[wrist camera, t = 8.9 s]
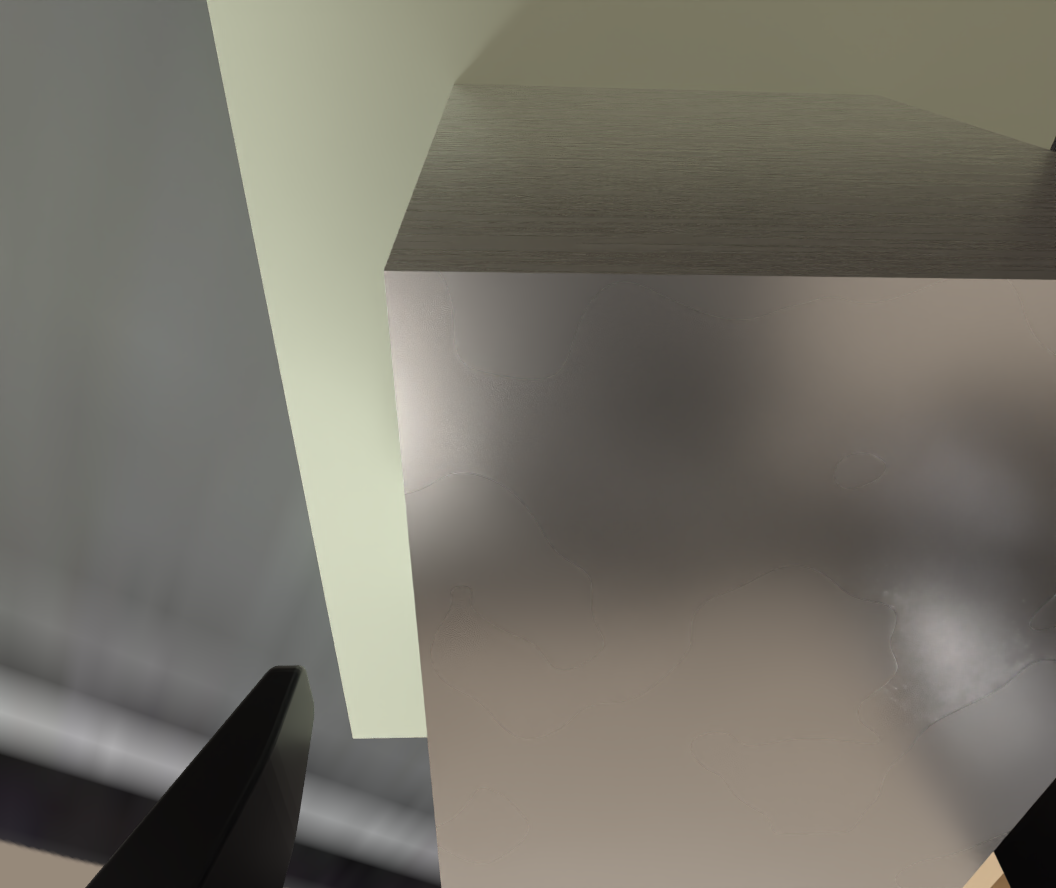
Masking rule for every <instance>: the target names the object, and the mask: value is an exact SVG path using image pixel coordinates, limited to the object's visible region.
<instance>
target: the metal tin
mask: <svg viewBox="0 0 1056 888" xmlns="http://www.w3.org/2000/svg"><path fill="white" fill-rule="evenodd" d="M384 281H385V292H386V302H387V313H388V324H389V334H390V345H391V355H392V366H393V377H394V387H395V398H396V409H397V419H398V430H399V440H400V451H401V462H402V472H403V483H404V494H405V504H406V515H407V526H408V536H409V547H410V558H411V568H412V579H413V589H414V600H415V611H416V621H417V632H418V643H419V653H420V664H421V675H422V685H423V696H424V706H425V717H426V728H427V738H428V749H429V760H430V770H431V781H432V792H433V802H434V813H435V823H436V834H437V845H438V855H439V866H440V877H441V887H442V888H963V887H964V885H965V884H966V883H967V882H968V881H969V880H970V878H971V877H972V876H973V875H974V874H975V873H976V871H977V870H978V869H979V868H980V867H981V865H982V864H983V863H984V862H985V861H986V860H987V858H988V857H989V856H990V855H991V854H992V852H993V851H994V850H995V849H996V848H997V847H998V845H999V844H1000V843H1001V842H1002V841H1003V840H1004V838H1005V837H1006V836H1007V835H1008V834H1009V832H1010V831H1011V830H1012V829H1013V828H1014V827H1015V825H1016V824H1017V823H1018V822H1019V821H1020V819H1021V818H1022V817H1023V816H1024V815H1025V814H1026V812H1027V811H1028V810H1029V809H1030V808H1031V807H1032V805H1033V804H1034V803H1035V802H1036V801H1037V799H1038V798H1039V797H1040V796H1041V795H1042V794H1043V792H1044V791H1045V790H1046V789H1047V788H1048V786H1049V785H1050V784H1051V783H1052V782H1053V781H1054V779H1055V778H1056V152H1054V151H1051V150H1048V149H1044V148H1041V147H1038V146H1035V145H1032V144H1029V143H1026V142H1023V141H1019V140H1016V139H1013V138H1010V137H1007V136H1004V135H1001V134H998V133H994V132H991V131H988V130H985V129H982V128H979V127H976V126H972V125H969V124H966V123H963V122H960V121H957V120H954V119H951V118H947V117H944V116H941V115H938V114H935V113H932V112H929V111H925V110H922V109H919V108H916V107H913V106H910V105H907V104H904V103H900V102H897V101H894V100H891V99H888V98H885V97H882V96H879V95H851V94H814V93H776V92H739V91H701V90H664V89H626V88H589V87H551V86H514V85H477V84H454V85H453V87H452V90H451V93H450V95H449V98H448V101H447V103H446V106H445V109H444V111H443V114H442V117H441V119H440V122H439V125H438V127H437V130H436V133H435V135H434V138H433V141H432V143H431V146H430V149H429V151H428V154H427V157H426V159H425V162H424V165H423V167H422V170H421V173H420V175H419V178H418V181H417V183H416V186H415V189H414V191H413V194H412V197H411V199H410V202H409V204H408V207H407V210H406V212H405V215H404V218H403V220H402V223H401V226H400V228H399V231H398V234H397V236H396V239H395V242H394V244H393V247H392V250H391V252H390V255H389V258H388V260H387V263H386V266H385V268H384Z"/></svg>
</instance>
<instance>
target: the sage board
mask: <svg viewBox="0 0 1056 888" xmlns="http://www.w3.org/2000/svg"><path fill="white" fill-rule="evenodd" d="M207 4H208V9H209V14H210V19H211V24H212V29H213V34H214V40H215V45H216V50H217V55H218V60H219V65H220V70H221V75H222V80H223V85H224V90H225V95H226V100H227V105H228V110H229V115H230V120H231V125H232V130H233V135H234V140H235V145H236V150H237V155H238V161H239V166H240V171H241V176H242V181H243V186H244V191H245V196H246V201H247V206H248V211H249V216H250V221H251V226H252V231H253V236H254V241H255V246H256V251H257V256H258V261H259V266H260V271H261V277H262V282H263V287H264V292H265V297H266V302H267V307H268V312H269V317H270V322H271V327H272V332H273V337H274V342H275V347H276V352H277V357H278V362H279V367H280V372H281V377H282V382H283V387H284V392H285V398H286V403H287V408H288V413H289V418H290V423H291V428H292V433H293V438H294V443H295V448H296V453H297V458H298V463H299V468H300V473H301V478H302V483H303V488H304V493H305V498H306V503H307V508H308V513H309V519H310V524H311V529H312V534H313V539H314V544H315V549H316V554H317V559H318V564H319V569H320V574H321V579H322V584H323V589H324V594H325V599H326V604H327V609H328V614H329V619H330V624H331V629H332V635H333V640H334V645H335V650H336V655H337V660H338V665H339V670H340V675H341V680H342V685H343V690H344V695H345V700H346V705H347V710H348V715H349V720H350V725H351V730H352V735H353V738H406V737H427V728H426V717H425V706H424V696H423V685H422V675H421V664H420V653H419V643H418V632H417V621H416V611H415V600H414V589H413V579H412V568H411V558H410V547H409V536H408V526H407V515H406V504H405V494H404V483H403V472H402V462H401V451H400V440H399V430H398V419H397V409H396V398H395V387H394V377H393V366H392V355H391V345H390V334H389V324H388V313H387V302H386V292H385V281H384V268H385V266H386V263H387V260H388V258H389V255H390V252H391V250H392V247H393V244H394V242H395V239H396V236H397V234H398V231H399V228H400V226H401V223H402V220H403V218H404V215H405V212H406V210H407V207H408V204H409V202H410V199H411V197H412V194H413V191H414V189H415V186H416V183H417V181H418V178H419V175H420V173H421V170H422V167H423V165H424V162H425V159H426V157H427V154H428V151H429V149H430V146H431V143H432V141H433V138H434V135H435V133H436V130H437V127H438V125H439V122H440V119H441V117H442V114H443V111H444V109H445V106H446V103H447V101H448V98H449V95H450V93H451V90H452V87H453V85H454V84H477V85H514V86H551V87H589V88H626V89H664V90H701V91H739V92H776V93H814V94H851V95H879V96H882V97H885V98H888V99H891V100H894V101H897V102H900V103H904V104H907V105H910V106H913V107H916V108H919V109H922V110H925V111H929V112H932V113H935V114H938V115H941V116H944V117H947V118H951V119H954V120H957V121H960V122H963V123H966V124H969V125H972V126H976V127H979V128H982V129H985V130H988V131H991V132H994V133H998V134H1001V135H1004V136H1007V137H1010V138H1013V139H1016V140H1019V141H1023V142H1026V143H1029V144H1032V145H1035V146H1038V147H1041V148H1044V149H1048V150H1050V149H1051V146H1052V144H1053V142H1054V139H1055V137H1056V0H207Z"/></svg>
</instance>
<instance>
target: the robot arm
mask: <svg viewBox="0 0 1056 888" xmlns="http://www.w3.org/2000/svg"><path fill="white" fill-rule="evenodd" d="M313 720H314V702H313V697H312V693H311V689H310V685H309V681H308V677H307V673H306V670H305V669H304V667H302V666H299V665H295V666H275V667H273V668H271V669H270V670H269V671H268V672H267V673H266V674H265V675H264V676H263V678H262V679H261V680H260V681H259V682H258V683H257V685H256V686H255V687H254V688H253V689H252V691H251V692H250V693H249V694H248V695H247V697H246V698H245V699H244V700H243V701H242V702H241V704H240V705H239V706H238V707H237V708H236V710H235V711H234V712H233V713H232V714H231V716H230V717H229V718H228V719H227V720H226V721H225V723H224V724H223V725H222V726H221V727H220V729H219V730H218V731H217V732H216V733H215V735H214V736H213V737H212V738H211V739H210V740H209V742H208V743H207V744H206V745H205V746H204V748H203V749H202V750H201V751H200V752H199V754H198V755H197V756H196V757H195V758H194V759H193V761H192V762H191V763H190V764H189V765H188V767H187V768H186V769H185V770H184V771H183V773H182V774H181V775H180V776H179V777H178V778H177V780H176V781H175V782H174V783H173V784H172V786H171V787H170V788H169V789H168V790H167V792H166V793H165V794H164V795H163V796H162V797H161V799H160V800H159V801H158V802H157V803H156V805H155V806H154V807H153V808H152V809H151V811H150V812H149V813H148V814H147V815H146V816H145V818H144V819H143V820H142V821H141V822H140V824H139V825H138V826H137V827H136V828H135V830H134V831H133V832H132V833H131V834H130V835H129V837H128V838H127V839H126V840H125V841H124V843H123V844H122V845H121V846H120V847H119V849H118V850H117V851H116V852H115V853H114V854H113V856H112V857H111V858H110V859H109V860H108V862H107V863H106V864H105V865H104V866H103V868H102V869H101V870H100V871H99V872H98V873H97V875H96V876H95V877H94V878H93V879H92V881H91V882H90V883H89V884H88V885H87V887H86V888H283V885H284V881H285V877H286V873H287V869H288V866H289V862H290V858H291V854H292V850H293V845H294V841H295V837H296V831H297V825H298V819H299V813H300V807H301V800H302V793H303V787H304V780H305V774H306V767H307V760H308V754H309V747H310V740H311V734H312V727H313ZM993 852H994V854H995V856H996V858H997V860H998V862H999V864H1000V866H1001V869H1002V871H1003V873H1004V875H1005V877H1006V879H1007V881H1008V883H1009V885H1010V888H1056V778H1055V779H1054V781H1053V782H1052V783H1051V784H1050V785H1049V786H1048V788H1047V789H1046V790H1045V791H1044V792H1043V794H1042V795H1041V796H1040V797H1039V798H1038V799H1037V801H1036V802H1035V803H1034V804H1033V805H1032V807H1031V808H1030V809H1029V810H1028V811H1027V812H1026V814H1025V815H1024V816H1023V817H1022V818H1021V819H1020V821H1019V822H1018V823H1017V824H1016V825H1015V827H1014V828H1013V829H1012V830H1011V831H1010V832H1009V834H1008V835H1007V836H1006V837H1005V838H1004V840H1003V841H1002V842H1001V843H1000V844H999V845H998V847H997V848H996V849H995V850H994V851H993Z"/></svg>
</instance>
